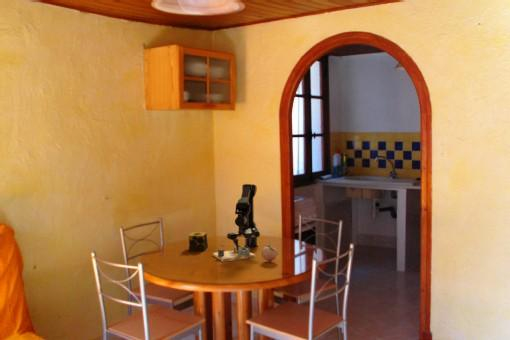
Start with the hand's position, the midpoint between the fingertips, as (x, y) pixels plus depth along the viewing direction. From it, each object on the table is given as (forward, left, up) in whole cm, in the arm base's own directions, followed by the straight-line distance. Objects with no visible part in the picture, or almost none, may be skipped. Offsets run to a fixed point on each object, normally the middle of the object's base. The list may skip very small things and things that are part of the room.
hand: (243, 249), depth 288 cm
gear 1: (0, -7, -3) cm, 8 cm away
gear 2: (0, 0, -3) cm, 3 cm away
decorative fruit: (-8, +17, -5) cm, 20 cm away
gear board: (+5, -4, -4) cm, 8 cm away
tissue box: (+18, -31, -5) cm, 36 cm away
